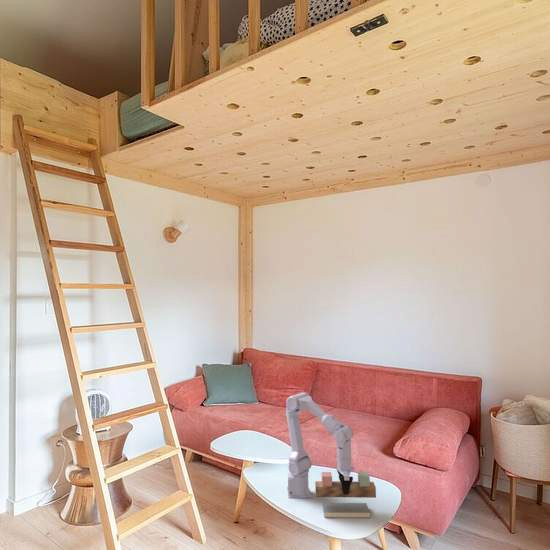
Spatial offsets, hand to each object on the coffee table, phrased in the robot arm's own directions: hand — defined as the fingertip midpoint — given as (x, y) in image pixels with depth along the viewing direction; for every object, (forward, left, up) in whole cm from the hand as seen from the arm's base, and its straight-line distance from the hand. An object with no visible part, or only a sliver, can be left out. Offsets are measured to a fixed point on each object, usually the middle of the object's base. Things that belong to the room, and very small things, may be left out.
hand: (345, 490), depth 164 cm
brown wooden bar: (0, 0, -2) cm, 2 cm away
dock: (0, -1, -8) cm, 8 cm away
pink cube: (-7, 0, +2) cm, 8 cm away
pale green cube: (+8, 0, +2) cm, 8 cm away
